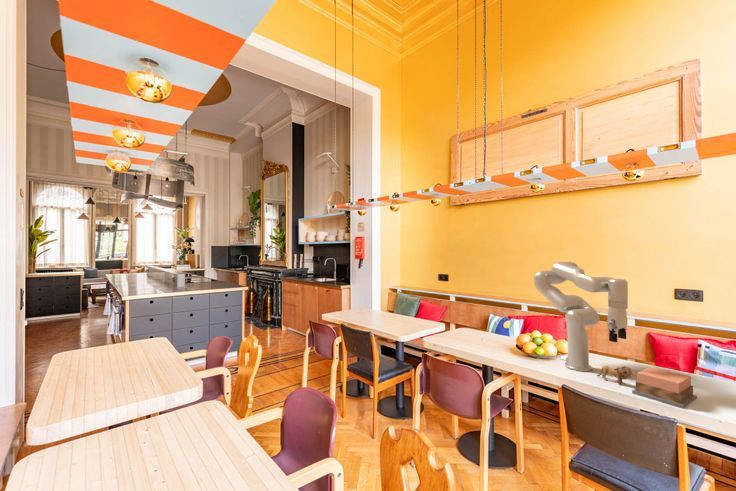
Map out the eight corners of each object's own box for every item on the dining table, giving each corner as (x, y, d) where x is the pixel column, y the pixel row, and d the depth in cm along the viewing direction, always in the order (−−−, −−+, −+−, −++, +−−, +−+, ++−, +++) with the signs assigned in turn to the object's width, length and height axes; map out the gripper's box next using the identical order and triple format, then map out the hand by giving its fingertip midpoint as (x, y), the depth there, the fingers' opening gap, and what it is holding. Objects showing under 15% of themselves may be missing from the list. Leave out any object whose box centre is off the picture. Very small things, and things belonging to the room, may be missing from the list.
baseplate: (632, 393, 147) (632, 390, 147) (647, 384, 156) (647, 382, 156) (683, 408, 133) (683, 405, 133) (697, 398, 141) (697, 395, 141)
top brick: (637, 381, 147) (637, 372, 147) (650, 375, 154) (650, 366, 154) (679, 393, 135) (678, 383, 135) (691, 385, 142) (690, 376, 142)
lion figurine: (634, 385, 155) (633, 366, 156) (629, 388, 153) (629, 368, 153) (598, 376, 168) (598, 358, 168) (594, 378, 165) (593, 360, 165)
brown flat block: (635, 390, 147) (635, 381, 147) (649, 383, 155) (649, 374, 155) (680, 404, 134) (680, 394, 134) (693, 395, 142) (692, 385, 142)
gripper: (616, 301, 167) (616, 335, 167) (600, 305, 158) (600, 341, 158) (634, 303, 161) (634, 339, 161) (619, 307, 151) (619, 345, 152)
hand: (617, 340), depth 159 cm, fingers open, 9 cm apart
